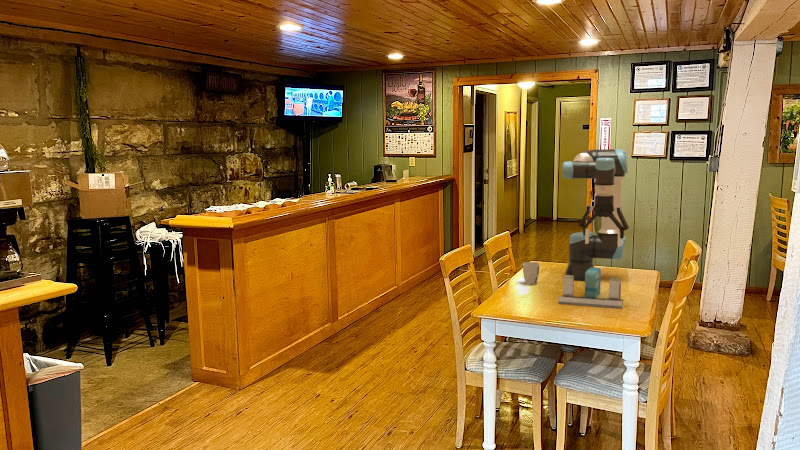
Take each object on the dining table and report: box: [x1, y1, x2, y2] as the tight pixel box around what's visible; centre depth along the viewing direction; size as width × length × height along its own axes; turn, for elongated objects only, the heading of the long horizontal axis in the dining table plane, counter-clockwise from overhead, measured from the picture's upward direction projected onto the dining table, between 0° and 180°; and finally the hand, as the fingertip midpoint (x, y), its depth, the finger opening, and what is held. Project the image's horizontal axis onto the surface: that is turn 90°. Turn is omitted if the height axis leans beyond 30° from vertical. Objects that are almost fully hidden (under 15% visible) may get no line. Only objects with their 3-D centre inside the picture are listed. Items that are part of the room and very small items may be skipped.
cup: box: [522, 261, 540, 286], centre depth 297 cm, size 8×8×10 cm
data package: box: [584, 267, 602, 298], centre depth 273 cm, size 12×4×12 cm, turn 151°
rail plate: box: [558, 274, 623, 309], centre depth 262 cm, size 10×26×11 cm, turn 69°
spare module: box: [619, 280, 622, 300], centre depth 266 cm, size 5×4×8 cm
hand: (602, 244), depth 256 cm, fingers open, 13 cm apart
